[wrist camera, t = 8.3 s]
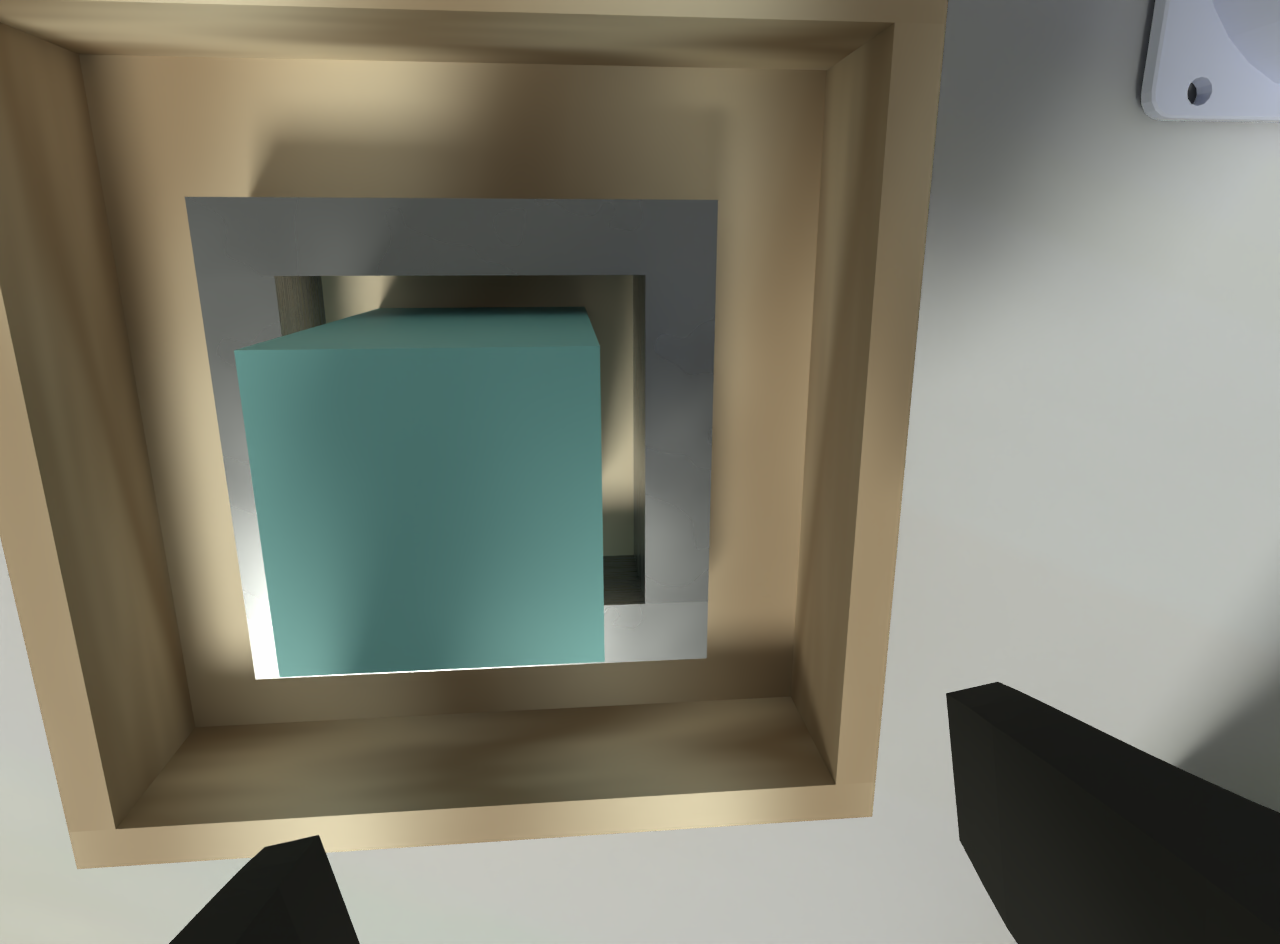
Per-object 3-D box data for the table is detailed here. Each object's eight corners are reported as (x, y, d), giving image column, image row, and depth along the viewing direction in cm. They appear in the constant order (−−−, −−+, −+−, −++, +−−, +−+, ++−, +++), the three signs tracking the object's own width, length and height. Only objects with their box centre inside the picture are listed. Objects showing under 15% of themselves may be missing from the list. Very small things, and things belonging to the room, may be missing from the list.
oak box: (855, 35, 16) (951, -36, 12) (811, 705, 20) (872, 817, 16) (49, 14, 14) (-142, -74, 10) (180, 739, 18) (76, 868, 14)
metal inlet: (694, 207, 15) (718, 199, 13) (687, 603, 18) (706, 658, 15) (246, 206, 15) (185, 196, 12) (299, 618, 17) (255, 679, 14)
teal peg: (584, 306, 16) (599, 345, 9) (588, 498, 17) (604, 661, 10) (379, 308, 15) (234, 350, 9) (396, 504, 16) (279, 677, 10)
